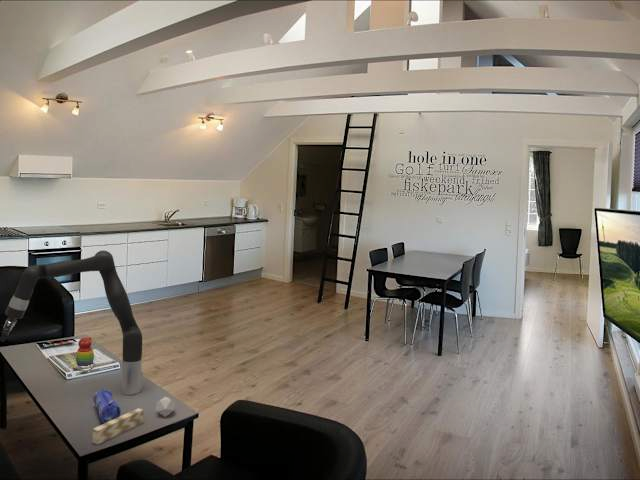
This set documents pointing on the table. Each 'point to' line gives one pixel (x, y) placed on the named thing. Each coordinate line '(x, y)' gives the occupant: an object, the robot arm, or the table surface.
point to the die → (165, 406)
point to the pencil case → (106, 405)
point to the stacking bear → (84, 352)
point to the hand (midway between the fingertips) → (3, 338)
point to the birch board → (117, 426)
